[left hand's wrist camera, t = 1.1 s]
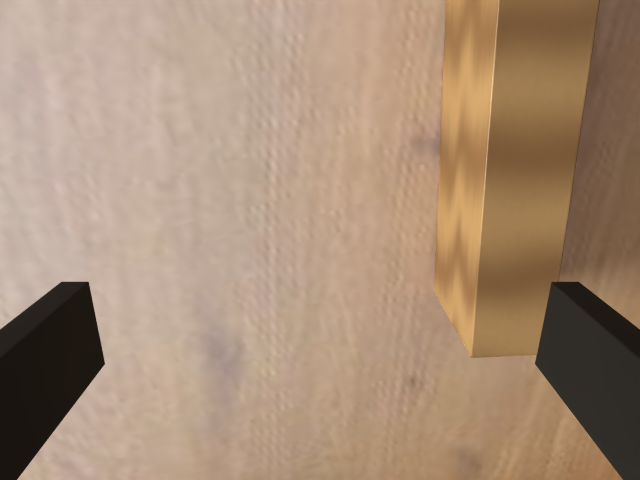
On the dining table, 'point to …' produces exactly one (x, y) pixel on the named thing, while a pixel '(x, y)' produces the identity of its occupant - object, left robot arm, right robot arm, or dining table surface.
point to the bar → (508, 163)
